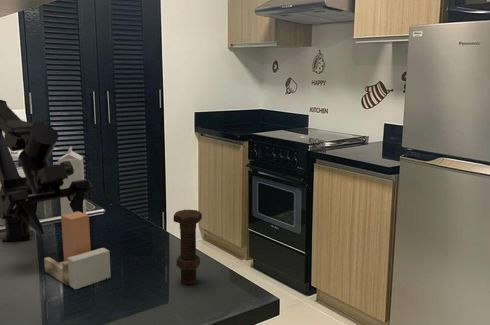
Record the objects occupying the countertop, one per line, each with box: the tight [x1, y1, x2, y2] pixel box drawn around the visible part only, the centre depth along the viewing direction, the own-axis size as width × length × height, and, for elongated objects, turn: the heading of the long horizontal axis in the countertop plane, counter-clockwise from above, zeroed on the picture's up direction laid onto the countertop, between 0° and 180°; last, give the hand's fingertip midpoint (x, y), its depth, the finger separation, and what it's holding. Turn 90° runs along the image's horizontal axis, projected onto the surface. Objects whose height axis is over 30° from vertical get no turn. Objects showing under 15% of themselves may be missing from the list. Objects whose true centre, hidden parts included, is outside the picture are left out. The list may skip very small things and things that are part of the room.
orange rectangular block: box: [60, 211, 92, 262], centre depth 101 cm, size 4×4×12 cm
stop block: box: [68, 247, 111, 290], centre depth 98 cm, size 2×8×6 cm, turn 137°
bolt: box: [173, 209, 203, 285], centre depth 98 cm, size 6×5×15 cm
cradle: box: [43, 256, 69, 286], centre depth 103 cm, size 10×9×4 cm
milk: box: [57, 145, 87, 216], centre depth 134 cm, size 6×6×22 cm
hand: (62, 228), depth 105 cm, fingers open, 9 cm apart
